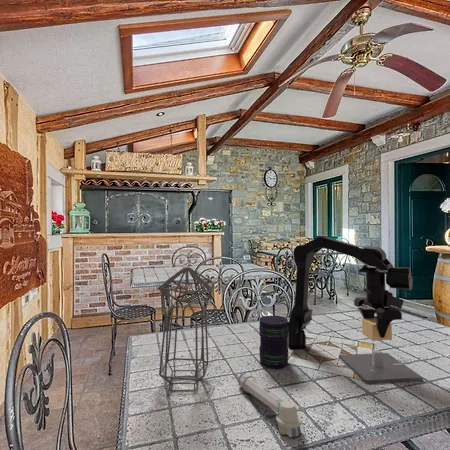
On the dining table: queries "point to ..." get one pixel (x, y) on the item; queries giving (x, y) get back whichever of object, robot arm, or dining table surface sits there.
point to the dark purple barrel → (273, 342)
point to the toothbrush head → (274, 405)
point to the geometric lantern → (209, 289)
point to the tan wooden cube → (374, 330)
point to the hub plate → (379, 368)
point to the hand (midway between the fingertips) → (376, 333)
